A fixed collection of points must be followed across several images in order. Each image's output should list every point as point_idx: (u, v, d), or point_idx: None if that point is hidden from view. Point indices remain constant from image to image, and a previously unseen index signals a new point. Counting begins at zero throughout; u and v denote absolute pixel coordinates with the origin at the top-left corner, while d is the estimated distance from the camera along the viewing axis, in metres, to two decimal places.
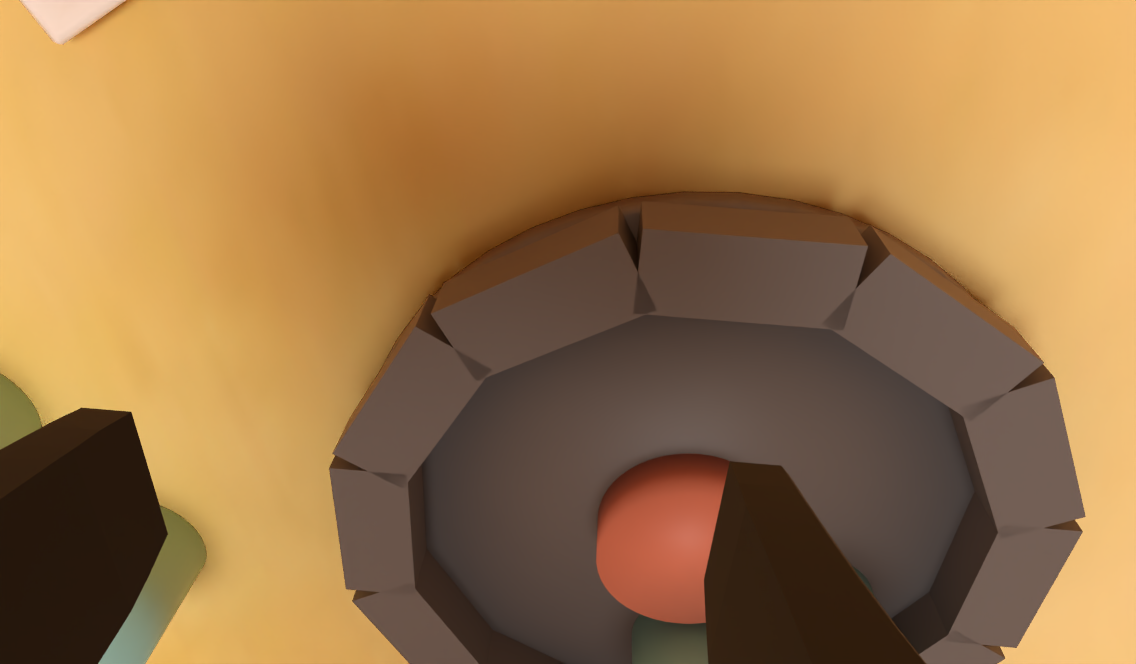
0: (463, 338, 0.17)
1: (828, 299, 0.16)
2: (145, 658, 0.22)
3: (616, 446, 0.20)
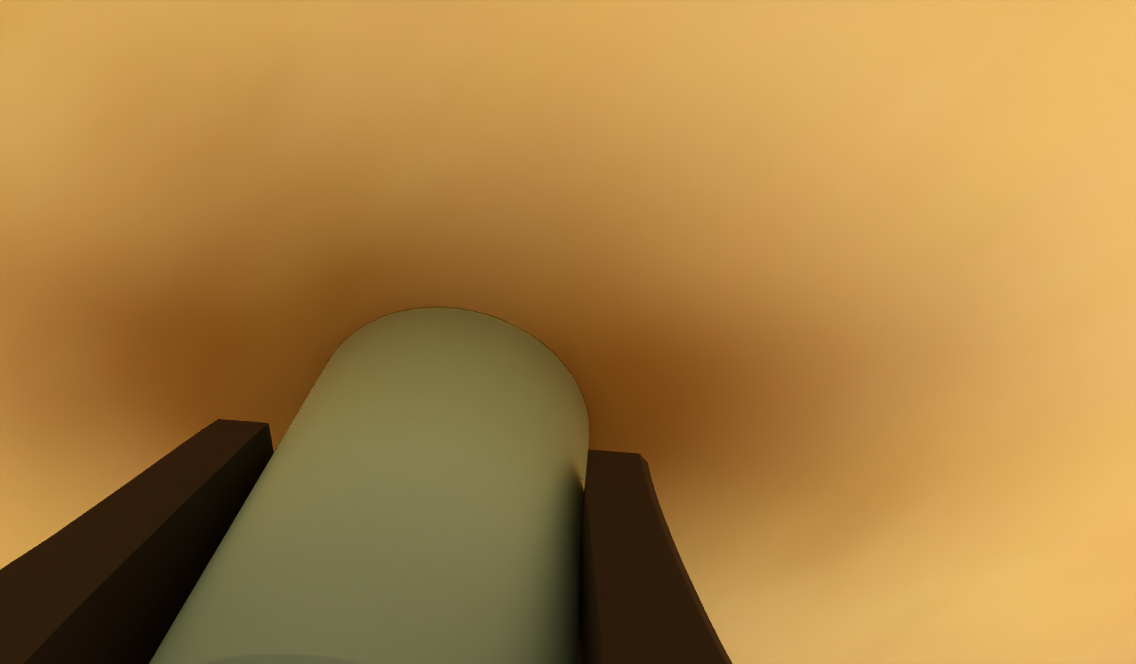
0: None
1: None
2: None
3: None
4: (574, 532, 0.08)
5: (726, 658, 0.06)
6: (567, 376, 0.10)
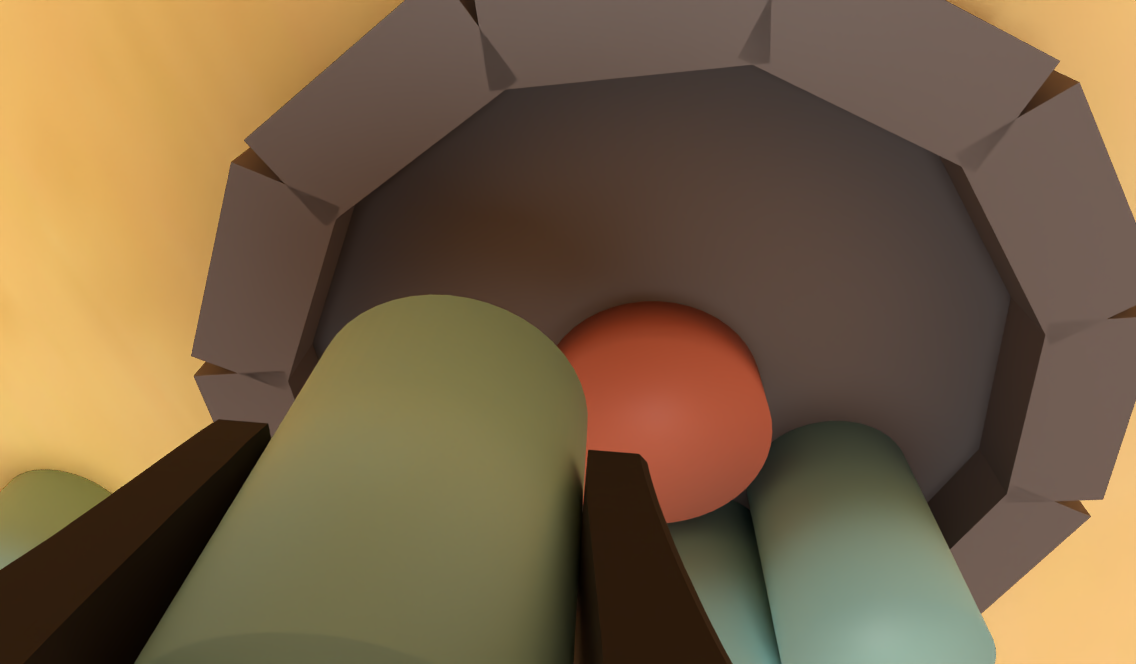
0: (293, 167, 0.14)
1: (738, 19, 0.12)
2: None
3: (540, 307, 0.17)
4: (571, 516, 0.08)
5: (726, 657, 0.06)
6: (564, 362, 0.10)
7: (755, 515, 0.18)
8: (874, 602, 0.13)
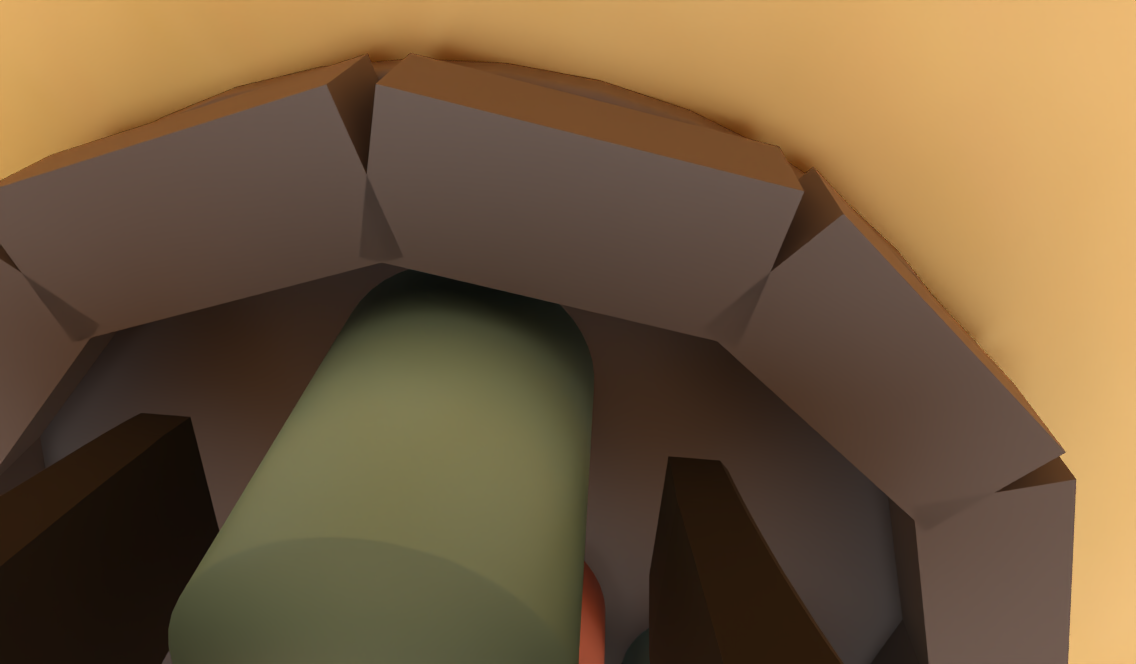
0: None
1: (338, 210, 0.09)
2: None
3: None
4: (580, 460, 0.09)
5: None
6: (573, 326, 0.11)
7: None
8: None
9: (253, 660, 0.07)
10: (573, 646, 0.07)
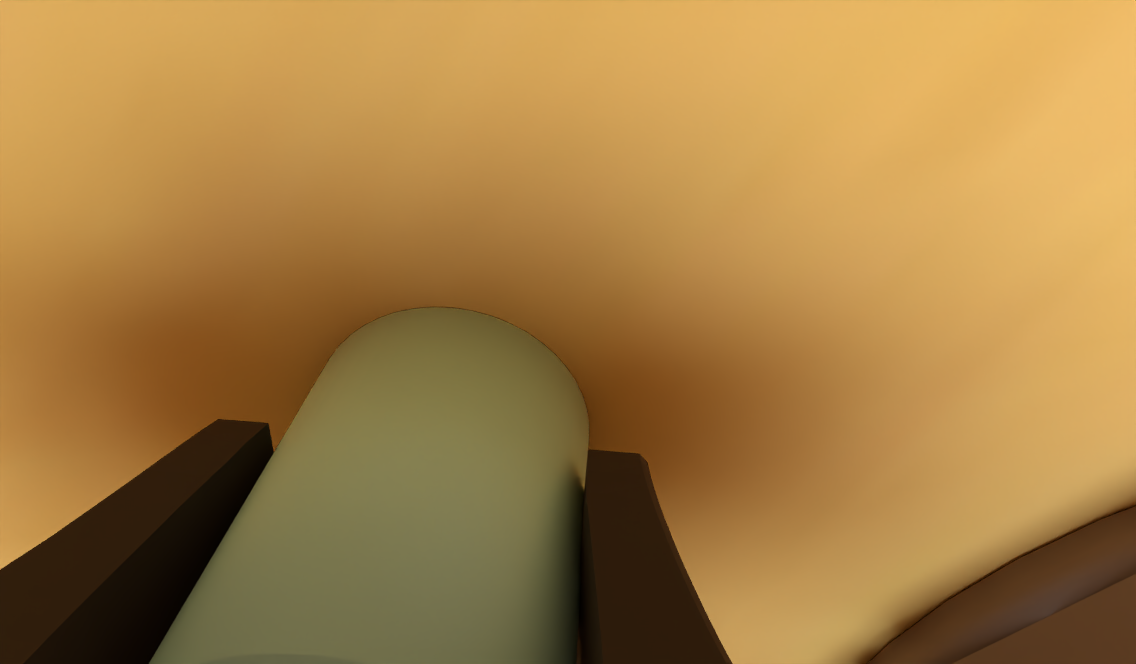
0: None
1: None
2: None
3: None
4: None
5: (726, 657, 0.06)
6: None
7: None
8: None
9: None
10: None
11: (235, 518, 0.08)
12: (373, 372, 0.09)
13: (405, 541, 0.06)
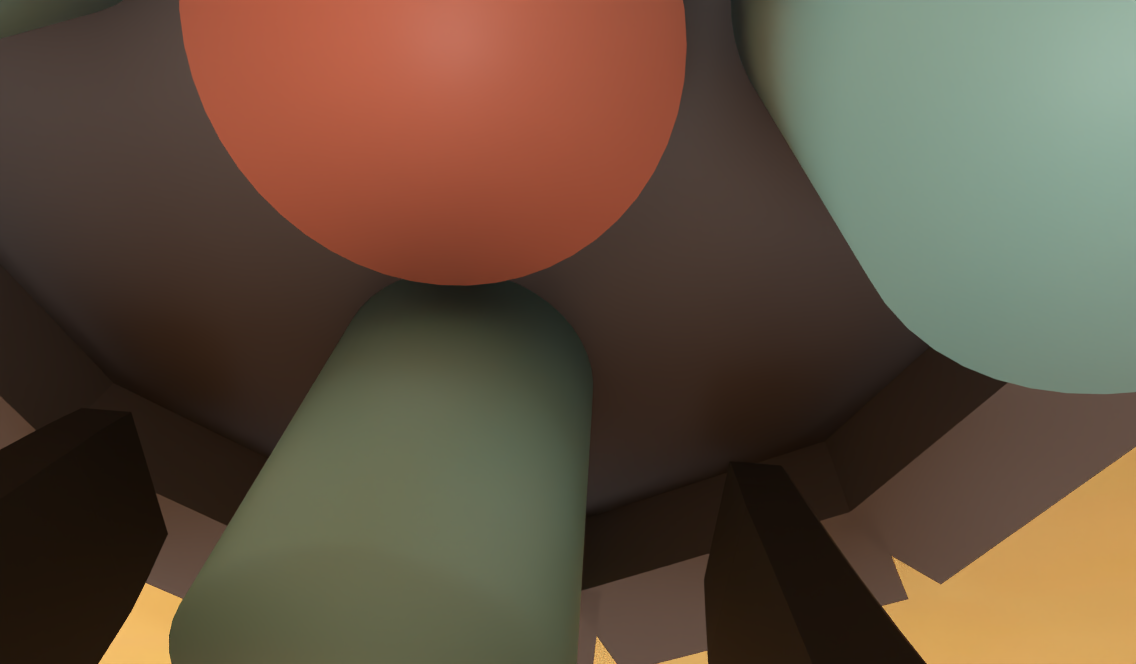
0: None
1: None
2: None
3: None
4: None
5: None
6: None
7: None
8: None
9: None
10: None
11: (272, 451, 0.08)
12: (394, 325, 0.09)
13: (427, 459, 0.07)
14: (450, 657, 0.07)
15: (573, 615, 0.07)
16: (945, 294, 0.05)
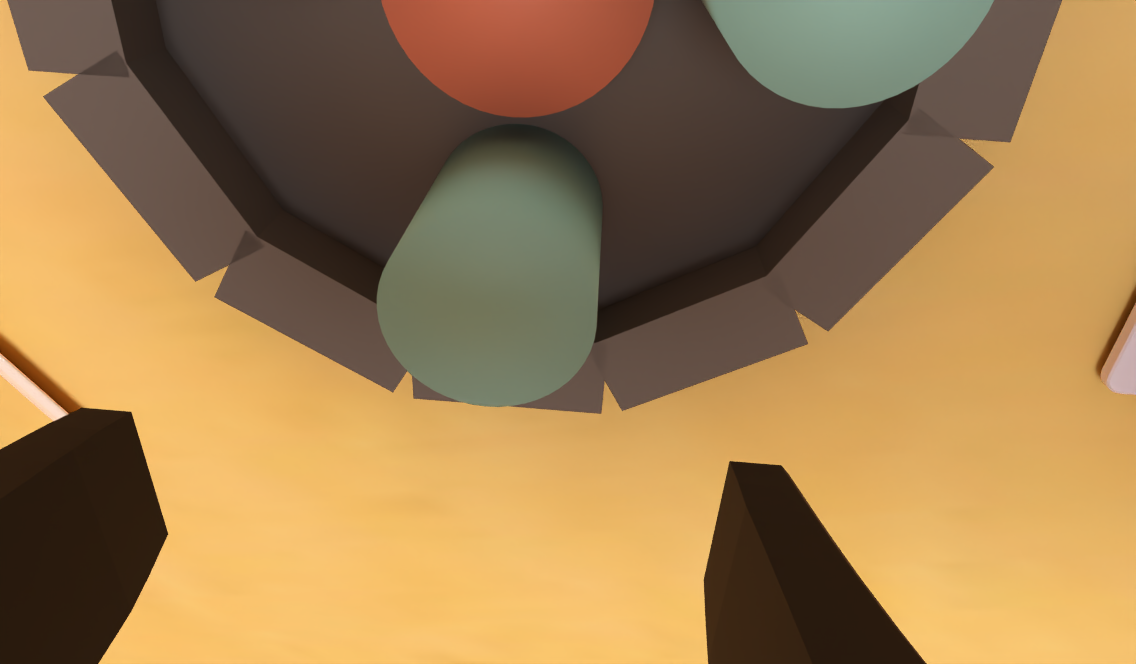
0: (214, 254, 0.17)
1: None
2: None
3: (401, 74, 0.16)
4: None
5: None
6: None
7: None
8: None
9: None
10: None
11: (417, 211, 0.14)
12: (482, 147, 0.15)
13: (515, 192, 0.13)
14: (531, 292, 0.13)
15: (595, 282, 0.13)
16: (764, 56, 0.11)
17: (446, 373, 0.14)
